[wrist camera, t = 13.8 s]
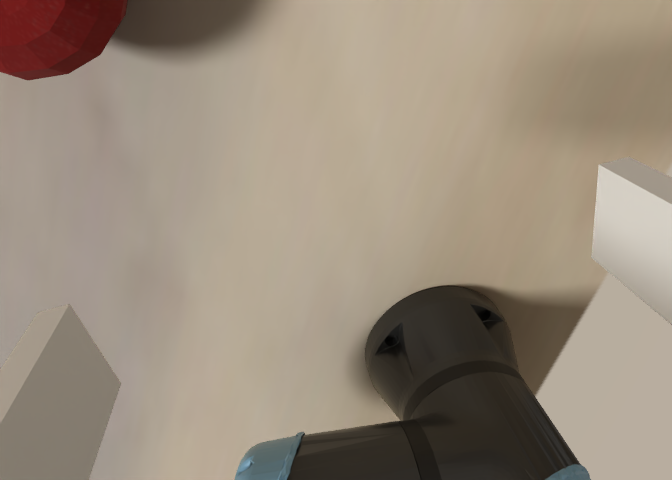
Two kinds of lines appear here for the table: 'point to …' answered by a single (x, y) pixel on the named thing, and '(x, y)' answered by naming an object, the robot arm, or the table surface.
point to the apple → (54, 34)
